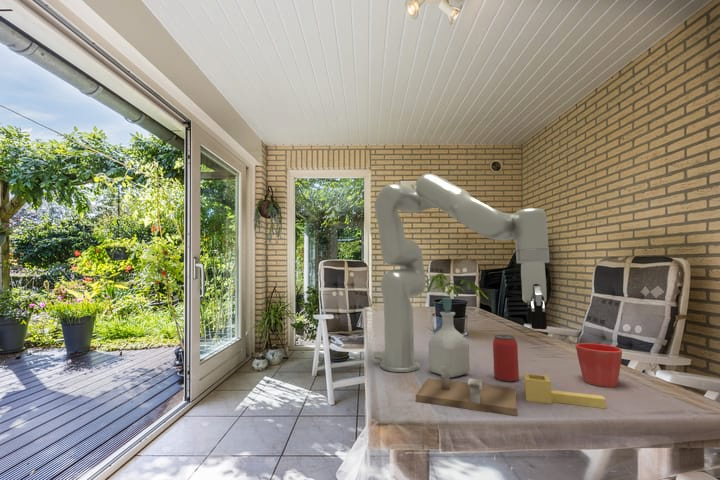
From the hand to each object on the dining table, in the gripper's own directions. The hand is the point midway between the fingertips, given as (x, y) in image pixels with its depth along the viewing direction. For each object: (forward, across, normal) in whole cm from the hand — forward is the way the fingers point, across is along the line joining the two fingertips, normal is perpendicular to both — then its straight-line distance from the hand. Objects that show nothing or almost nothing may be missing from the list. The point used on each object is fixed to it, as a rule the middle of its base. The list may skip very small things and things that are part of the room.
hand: (537, 325), depth 85 cm
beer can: (+17, -13, -8) cm, 23 cm away
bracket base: (+17, +6, -17) cm, 25 cm away
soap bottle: (+17, -13, -24) cm, 32 cm away
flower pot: (+18, -19, +16) cm, 31 cm away
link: (+17, +1, +4) cm, 18 cm away
